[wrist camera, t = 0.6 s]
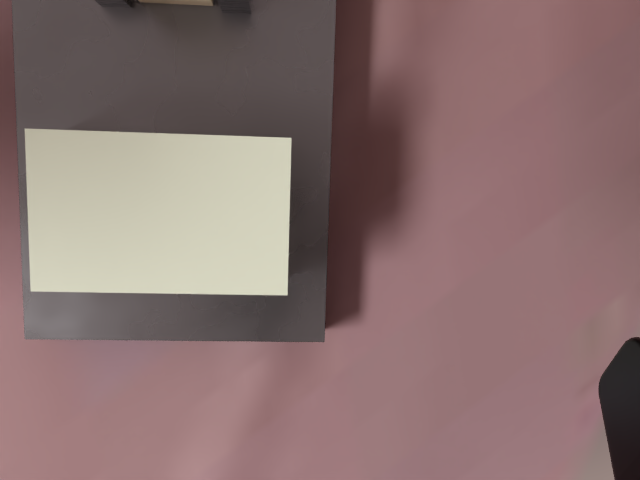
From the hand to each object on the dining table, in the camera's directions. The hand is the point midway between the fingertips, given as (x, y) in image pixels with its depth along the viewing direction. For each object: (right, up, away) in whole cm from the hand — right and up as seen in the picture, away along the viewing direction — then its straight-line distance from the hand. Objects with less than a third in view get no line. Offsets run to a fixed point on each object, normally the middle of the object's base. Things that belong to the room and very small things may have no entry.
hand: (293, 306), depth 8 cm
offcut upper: (-5, +2, +12) cm, 13 cm away
